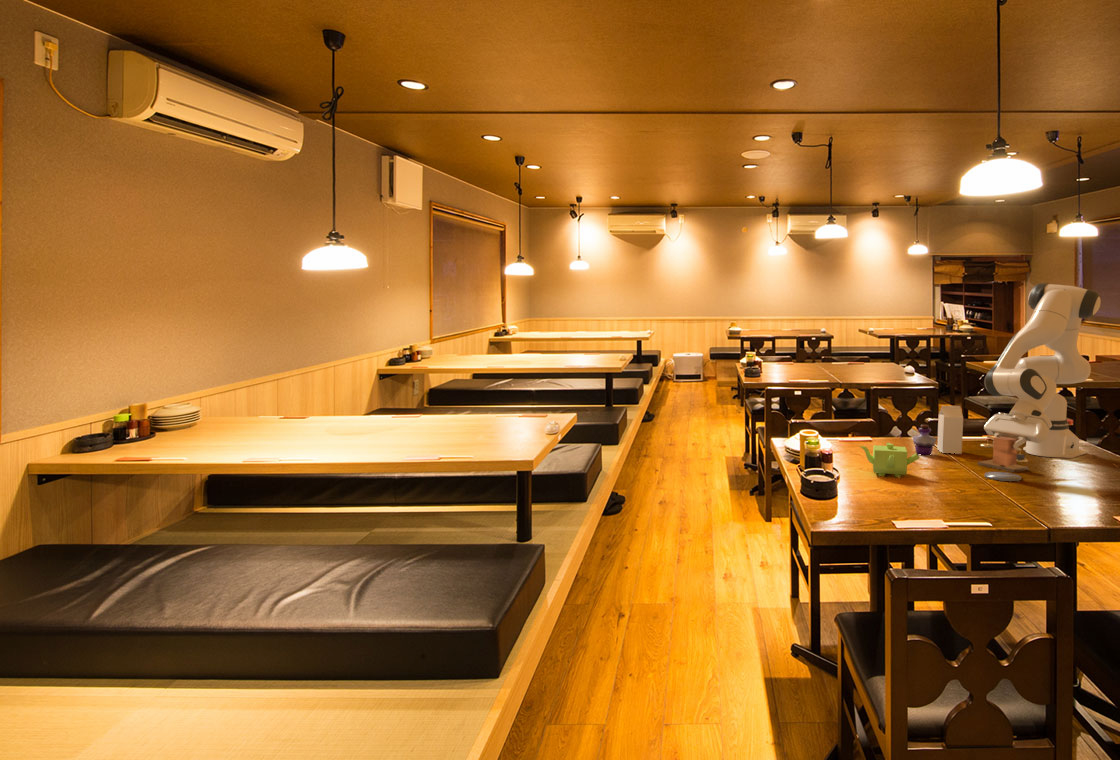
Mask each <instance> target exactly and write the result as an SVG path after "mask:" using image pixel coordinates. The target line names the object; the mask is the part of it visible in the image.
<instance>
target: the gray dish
mask: <svg viewBox="0 0 1120 760" xmlns="http://www.w3.org/2000/svg"><path fill="white" fill-rule="evenodd" d="M984 477H985V478H986V479H988V478H989V479H988V480H991V479H993V481H996V480H999V481H998V482H1004V481H1009V482H1008V483H1012V482H1011V481H1017V482H1021V481H1022V476H1021V475H1019V474H1015V473H1012V472H1006V471H987V472H985V473H984ZM1020 480H1021V481H1020Z"/></svg>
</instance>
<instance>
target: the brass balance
mask: <svg viewBox="0 0 1120 760" xmlns="http://www.w3.org/2000/svg"><path fill="white" fill-rule="evenodd" d="M986 438H987V441H986V442H987V443H980V444H979V446H980V447H982V448H988V449H993V447H994V444H993V443H989V440H993V441H994V438H995V436H992V435H987V436H986ZM1017 451H1018V452H1019V453H1017V458H1016V463H1017V462H1018V463H1028V462H1029V459H1028V458H1025V454H1023V453H1021V452H1022V448H1020V447H1018V448H1017ZM977 465H978V466H980V465H981V467H985V466H987V467H986V468H990V467H992V468H991V469H994V468H996V469H995V470H999V469H1001V470H1000V471H1003V470H1005V471H1004V472H1008V471H1010V472H1009V473H1012V472H1015V473H1021V472H1025V471H1024V470H1027V471H1029V466H1025V465H1020V464H1016V465H1010V466H1004V465H999V464H994V463H993V459H987V460H980V461H979V460H978V461H977ZM1020 471H1021V472H1020Z"/></svg>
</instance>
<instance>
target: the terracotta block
mask: <svg viewBox="0 0 1120 760" xmlns="http://www.w3.org/2000/svg"><path fill="white" fill-rule="evenodd" d="M1017 440H1018V439H1015V438H1009V437H996V438H995V437H994V440H993V441H994V447H993V448H992V449H993V451H992V452H993V453H992V460H993V463H994V464H999V465H1004V466H1010V465H1017V462H1016V458H1017V454H1018V450H1017V449H1012V447H1011V444H1012V442H1016V441H1017Z"/></svg>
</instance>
